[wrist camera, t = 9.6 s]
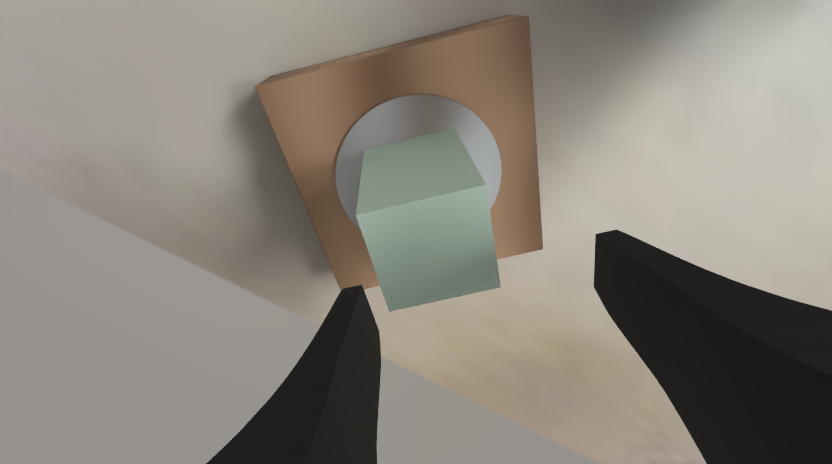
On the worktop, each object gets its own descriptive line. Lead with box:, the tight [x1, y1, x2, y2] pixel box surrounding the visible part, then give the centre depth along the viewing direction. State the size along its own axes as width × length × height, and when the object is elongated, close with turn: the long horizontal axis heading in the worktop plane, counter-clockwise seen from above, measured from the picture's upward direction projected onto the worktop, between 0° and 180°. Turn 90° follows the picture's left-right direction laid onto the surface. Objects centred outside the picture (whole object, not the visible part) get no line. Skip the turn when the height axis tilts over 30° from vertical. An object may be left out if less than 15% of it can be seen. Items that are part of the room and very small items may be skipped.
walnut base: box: [255, 15, 543, 290], centre depth 19 cm, size 11×11×3 cm
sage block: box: [356, 128, 500, 311], centre depth 15 cm, size 4×4×6 cm
